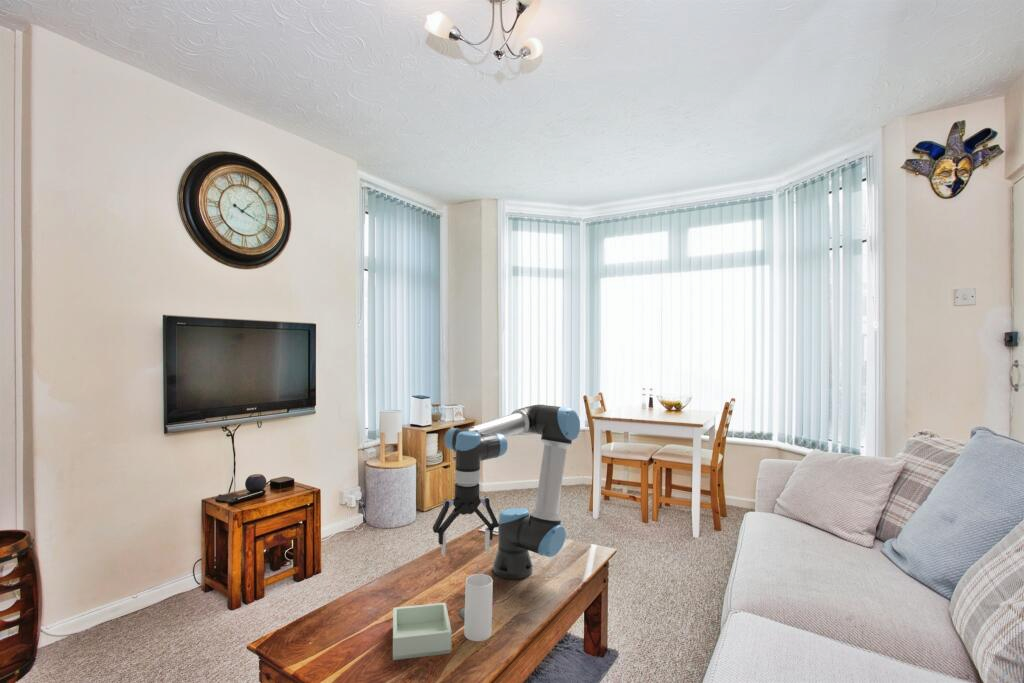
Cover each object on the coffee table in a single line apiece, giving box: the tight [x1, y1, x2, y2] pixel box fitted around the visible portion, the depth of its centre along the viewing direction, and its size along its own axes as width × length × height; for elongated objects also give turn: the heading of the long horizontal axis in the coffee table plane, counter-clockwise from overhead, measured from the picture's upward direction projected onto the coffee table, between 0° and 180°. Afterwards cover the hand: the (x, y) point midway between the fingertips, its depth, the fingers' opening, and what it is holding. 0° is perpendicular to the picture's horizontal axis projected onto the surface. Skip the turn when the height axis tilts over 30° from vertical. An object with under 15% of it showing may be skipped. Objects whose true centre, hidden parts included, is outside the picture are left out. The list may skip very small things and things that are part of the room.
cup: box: [463, 573, 494, 642], centre depth 149 cm, size 8×8×16 cm
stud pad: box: [459, 606, 465, 620], centre depth 160 cm, size 8×8×1 cm
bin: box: [392, 602, 453, 661], centre depth 145 cm, size 16×16×6 cm
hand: (465, 552), depth 151 cm, fingers open, 13 cm apart
